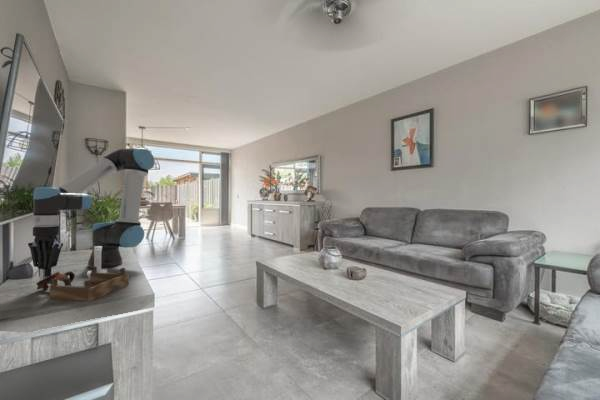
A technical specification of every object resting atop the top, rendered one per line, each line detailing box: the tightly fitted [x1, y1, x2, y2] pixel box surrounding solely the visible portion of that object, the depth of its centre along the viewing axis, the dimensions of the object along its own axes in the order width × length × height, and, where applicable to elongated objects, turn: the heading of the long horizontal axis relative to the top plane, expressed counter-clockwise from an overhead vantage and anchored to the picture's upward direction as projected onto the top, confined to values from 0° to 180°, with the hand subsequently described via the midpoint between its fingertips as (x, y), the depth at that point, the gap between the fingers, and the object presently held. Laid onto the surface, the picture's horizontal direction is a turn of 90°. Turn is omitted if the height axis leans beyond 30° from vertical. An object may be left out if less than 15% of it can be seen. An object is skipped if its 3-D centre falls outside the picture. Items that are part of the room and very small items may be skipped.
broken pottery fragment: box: [35, 271, 76, 291], centre depth 103 cm, size 12×10×8 cm
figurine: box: [86, 246, 109, 280], centre depth 116 cm, size 7×9×15 cm
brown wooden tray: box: [49, 267, 129, 302], centre depth 103 cm, size 18×16×7 cm
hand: (44, 284), depth 104 cm, fingers closed
